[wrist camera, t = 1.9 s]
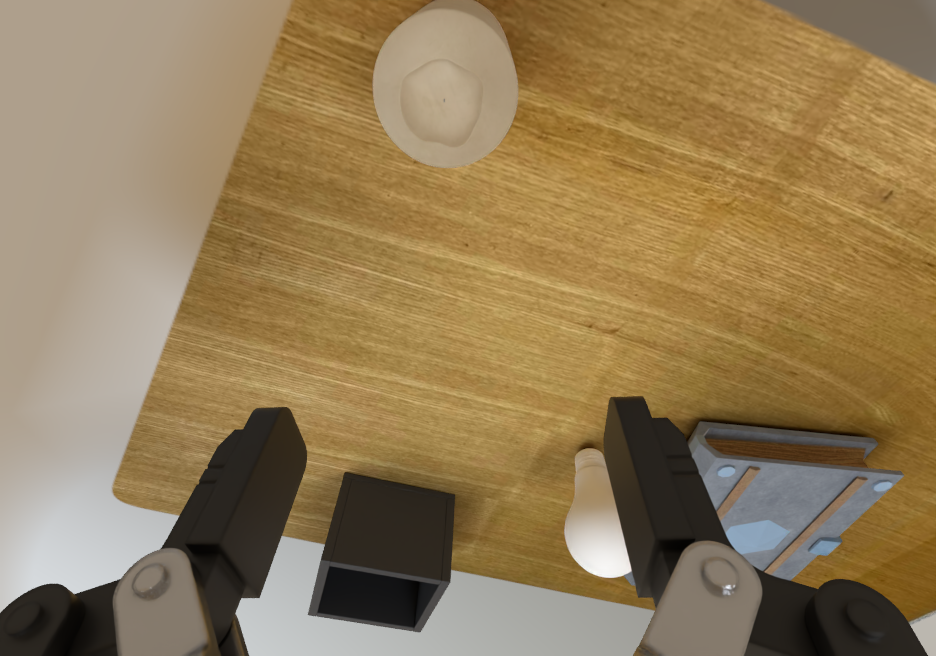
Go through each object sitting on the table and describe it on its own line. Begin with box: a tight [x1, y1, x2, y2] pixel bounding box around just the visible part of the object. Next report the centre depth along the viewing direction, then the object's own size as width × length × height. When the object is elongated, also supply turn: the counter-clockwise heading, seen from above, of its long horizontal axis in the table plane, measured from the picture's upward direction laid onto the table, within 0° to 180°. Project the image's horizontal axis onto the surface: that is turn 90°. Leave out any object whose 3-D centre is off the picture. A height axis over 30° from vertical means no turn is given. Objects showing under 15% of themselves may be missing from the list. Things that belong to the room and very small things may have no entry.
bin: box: [308, 473, 455, 632], centre depth 47 cm, size 11×11×9 cm
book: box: [624, 421, 904, 585], centre depth 45 cm, size 21×16×5 cm
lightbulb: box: [564, 448, 632, 578], centre depth 39 cm, size 6×6×11 cm
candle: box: [373, 0, 518, 168], centre depth 21 cm, size 6×6×10 cm
